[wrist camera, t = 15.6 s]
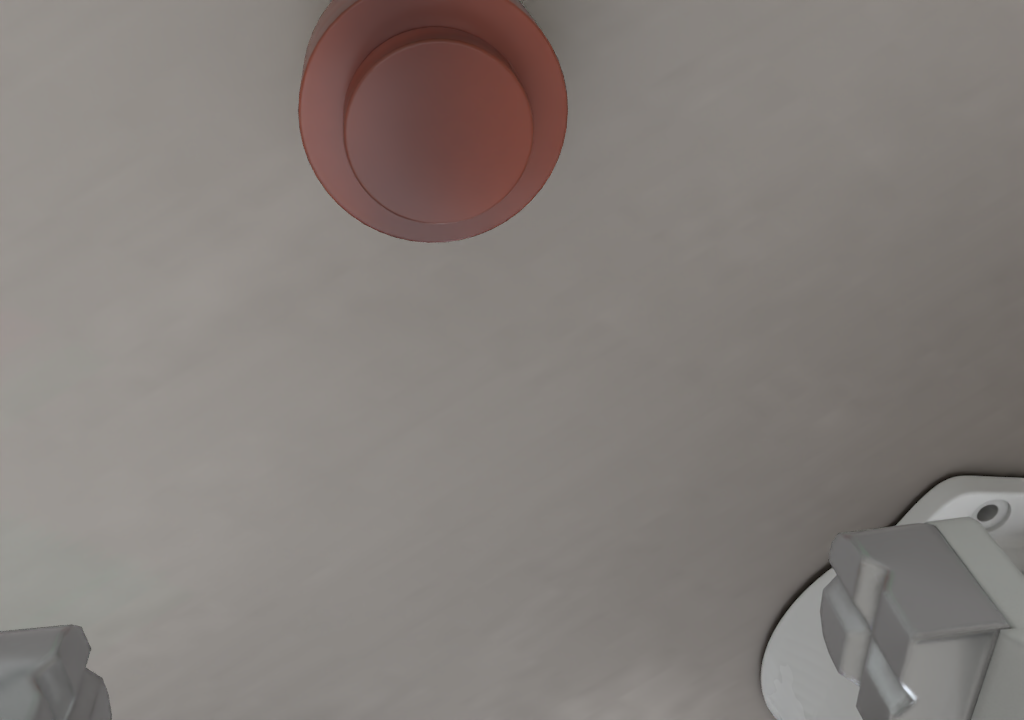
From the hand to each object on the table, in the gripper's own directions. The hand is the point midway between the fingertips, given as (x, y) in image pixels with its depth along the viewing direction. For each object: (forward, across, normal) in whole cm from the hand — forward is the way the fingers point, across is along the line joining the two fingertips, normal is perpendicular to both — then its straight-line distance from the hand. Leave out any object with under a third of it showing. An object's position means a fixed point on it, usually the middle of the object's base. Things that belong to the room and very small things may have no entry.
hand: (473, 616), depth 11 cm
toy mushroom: (+20, 0, -1) cm, 20 cm away
